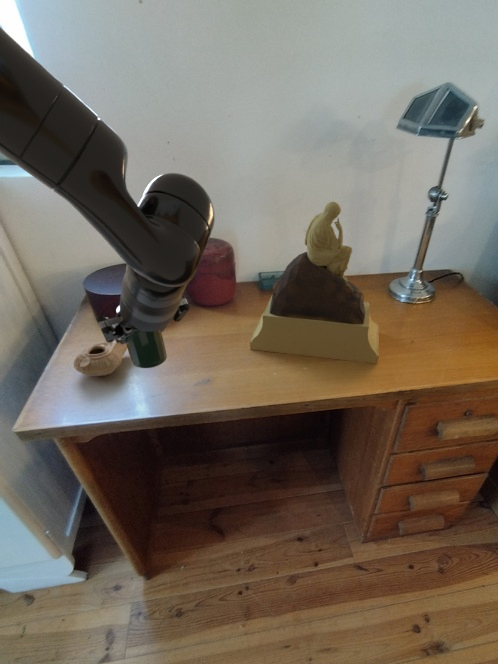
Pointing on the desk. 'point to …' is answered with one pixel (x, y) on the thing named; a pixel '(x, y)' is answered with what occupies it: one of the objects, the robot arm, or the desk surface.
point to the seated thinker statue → (319, 302)
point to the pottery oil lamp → (100, 358)
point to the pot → (146, 348)
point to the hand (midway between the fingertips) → (139, 332)
